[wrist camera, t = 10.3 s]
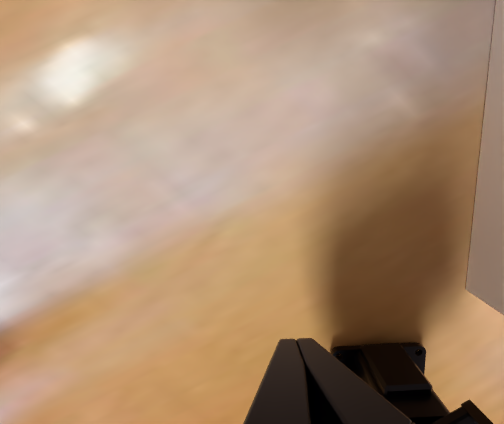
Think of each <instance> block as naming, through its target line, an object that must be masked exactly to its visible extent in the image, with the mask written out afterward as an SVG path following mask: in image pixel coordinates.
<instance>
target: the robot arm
mask: <svg viewBox="0 0 504 424" xmlns="http://www.w3.org/2000/svg"><path fill="white" fill-rule="evenodd" d="M418 349H419V351H418V352H415V351H416V350H418ZM339 353H340V354H341V355H340V356H336V355H337V354H339ZM425 357H426V350H425V348H424V347H423V346H422V345H421V344H420V343H387V344H368V345H360V346H342V347H335V348H333V349H332V351H331V353H329V352H328V351H327V350H326V349H324V348H323V347H322V346H321V345H320V344H318V343H317V342H316V341H315V340H314V339H312V338H299V339H297V340H295V339H281V340H279V342H278V345H277V347H276V349H275V352H274V354H273V356H272V358H271V361H270V363H269V365H268V368H267V370H266V372H265V375H264V377H263V379H262V382H261V384H260V386H259V389H258V391H257V393H256V396H255V398H254V400H253V403H252V405H251V407H250V409H249V412H248V414H247V416H246V419H245V421H244V423H243V424H493V423H492V422H491V421H490V420H489V419H488V418H487V417H486V416H485V415H484V414H483V413H482V412H481V411H480V410H479V409H478V408H477V407H476V406H475V405H474V404H473V403H472V402H471V401H470V400H468V401H466V402H464V403H462V404H461V406H462V407H460V408H458V409H456V410H454V411H453V412H451V413H450V412H449V410H448V409H447V408H446V406H445V405H444V404H443V402H442V401H441V400H440V399H439V397H438V396H437V395H436V393H435V392H434V391H433V389H432V385H431V384H430V382H429V381H428V380H427V378H426V377H425V376H424V370H425Z"/></svg>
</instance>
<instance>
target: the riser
mask: <svg viewBox="0 0 504 424" xmlns="http://www.w3.org/2000/svg"><path fill="white" fill-rule="evenodd" d="M466 290H467V291H469V292H470V293H472V294H473V295H475V296H476V297H478V298H479V299H481V300H482V301H484V302H485V303H486V304H488V305H489V306H491V307H492V308H494V309H495V310H497V311H498V312H500V313H501V314H503V315H504V0H496V4H495V13H494V23H493V33H492V42H491V52H490V61H489V71H488V80H487V90H486V99H485V109H484V118H483V128H482V138H481V147H480V157H479V166H478V176H477V185H476V195H475V204H474V214H473V223H472V233H471V242H470V252H469V262H468V271H467V281H466Z"/></svg>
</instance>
